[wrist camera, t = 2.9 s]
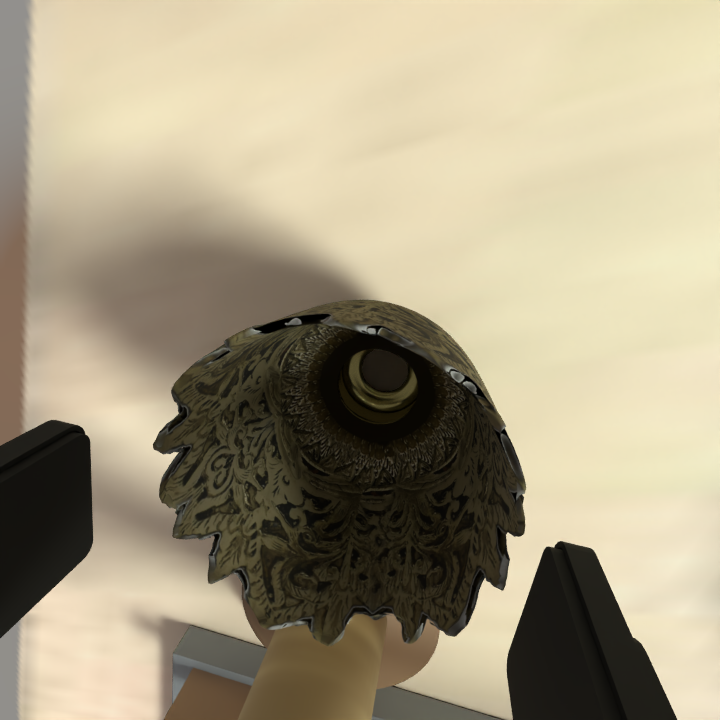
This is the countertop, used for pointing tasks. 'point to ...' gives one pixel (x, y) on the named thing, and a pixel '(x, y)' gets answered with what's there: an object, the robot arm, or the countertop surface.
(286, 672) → the bobbin post
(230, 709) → the wooden tray
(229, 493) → the cup
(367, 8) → the countertop surface
